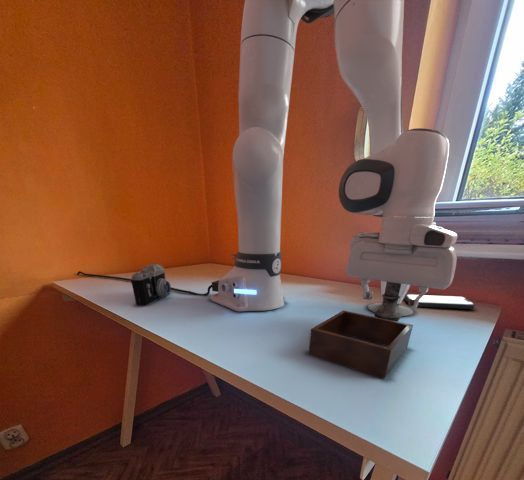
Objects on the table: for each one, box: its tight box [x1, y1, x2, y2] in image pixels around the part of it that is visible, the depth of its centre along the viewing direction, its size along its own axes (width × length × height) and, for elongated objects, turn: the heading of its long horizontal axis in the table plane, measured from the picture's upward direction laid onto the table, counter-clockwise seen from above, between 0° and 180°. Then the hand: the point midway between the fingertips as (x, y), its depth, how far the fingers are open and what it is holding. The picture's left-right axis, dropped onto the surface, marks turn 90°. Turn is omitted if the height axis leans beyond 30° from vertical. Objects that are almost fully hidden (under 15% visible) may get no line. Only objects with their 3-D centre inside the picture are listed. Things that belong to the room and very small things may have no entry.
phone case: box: [404, 294, 476, 310], centre depth 78 cm, size 9×2×16 cm
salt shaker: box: [372, 282, 402, 322], centre depth 59 cm, size 6×6×12 cm
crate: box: [308, 310, 414, 379], centre depth 50 cm, size 14×14×5 cm
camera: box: [130, 263, 172, 307], centre depth 80 cm, size 15×7×10 cm, turn 171°
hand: (388, 302), depth 59 cm, fingers open, 8 cm apart
